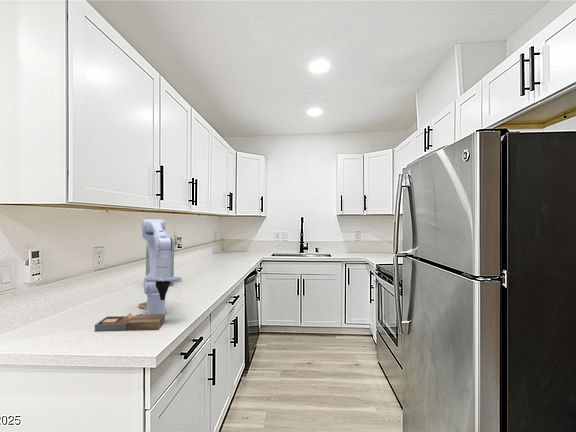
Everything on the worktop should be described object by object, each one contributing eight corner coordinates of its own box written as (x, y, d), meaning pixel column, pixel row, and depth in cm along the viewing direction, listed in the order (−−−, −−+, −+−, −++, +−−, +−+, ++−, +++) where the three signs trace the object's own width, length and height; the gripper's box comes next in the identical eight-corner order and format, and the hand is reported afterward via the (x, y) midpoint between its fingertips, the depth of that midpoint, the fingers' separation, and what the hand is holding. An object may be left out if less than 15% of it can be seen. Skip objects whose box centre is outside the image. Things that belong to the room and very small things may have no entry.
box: (106, 322, 148) (106, 316, 148) (135, 322, 149) (135, 316, 149) (94, 331, 136) (94, 324, 136) (125, 330, 137) (125, 324, 137)
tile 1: (118, 318, 145) (118, 323, 145) (106, 319, 144) (106, 324, 144) (114, 321, 140) (114, 327, 140) (102, 322, 140) (102, 327, 139)
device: (145, 287, 229) (146, 239, 230) (147, 284, 237) (148, 239, 238) (172, 286, 233) (173, 239, 234) (173, 284, 241) (174, 239, 241)
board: (135, 322, 149) (136, 314, 149) (164, 321, 150) (164, 314, 151) (126, 330, 137) (126, 322, 137) (157, 329, 139) (158, 322, 139)
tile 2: (124, 323, 145) (120, 319, 145) (133, 316, 145) (130, 312, 145) (120, 326, 140) (117, 322, 140) (130, 319, 141) (126, 315, 141)
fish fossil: (150, 298, 197) (151, 296, 197) (169, 299, 198) (170, 297, 198) (136, 308, 171) (136, 306, 171) (158, 310, 172) (158, 307, 172)
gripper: (142, 268, 144) (141, 302, 144) (179, 267, 146) (179, 301, 146) (147, 265, 151) (146, 298, 151) (182, 265, 153) (182, 298, 153)
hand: (162, 299), depth 149 cm, fingers closed
